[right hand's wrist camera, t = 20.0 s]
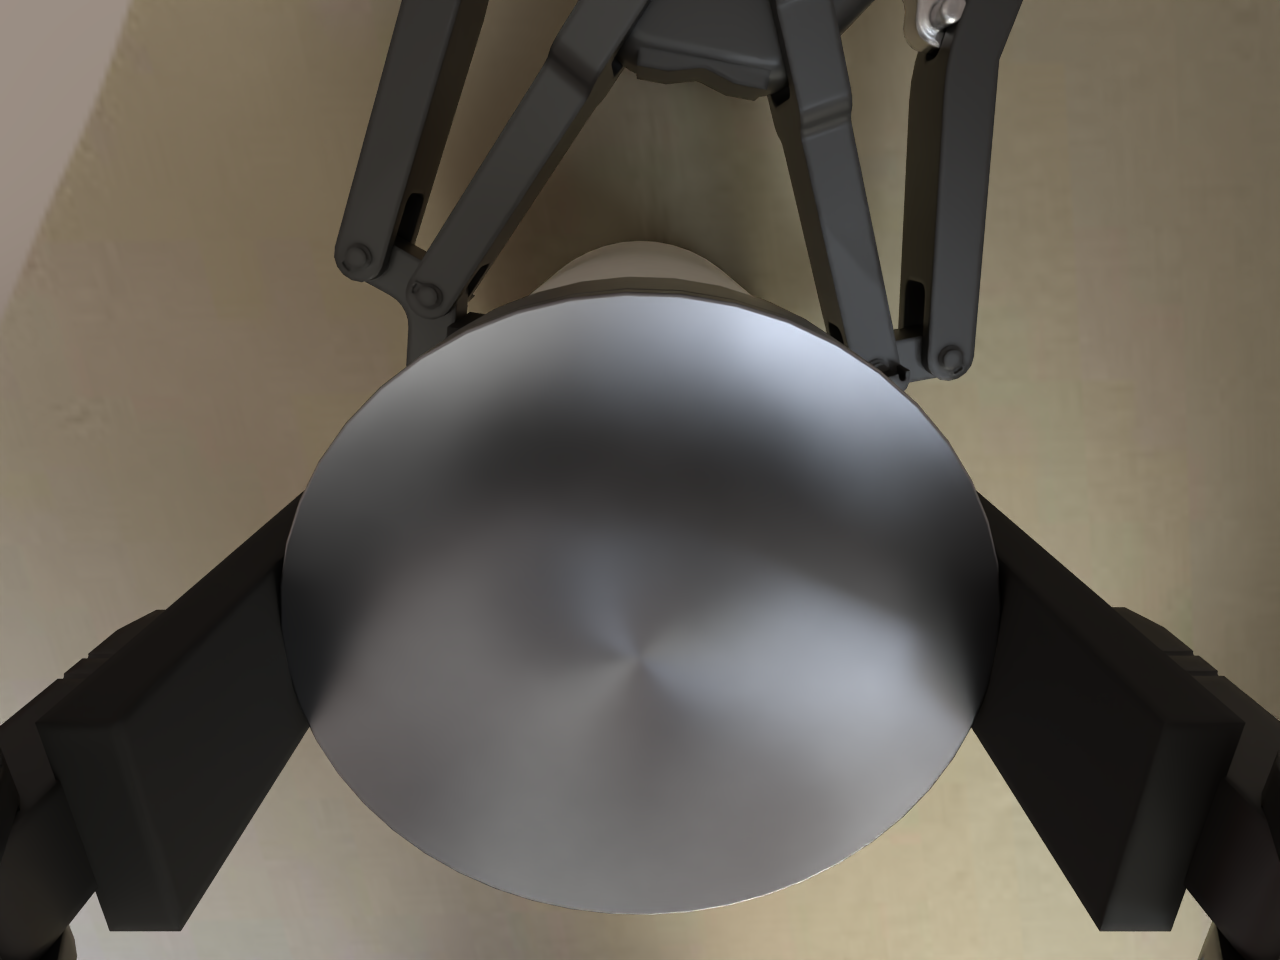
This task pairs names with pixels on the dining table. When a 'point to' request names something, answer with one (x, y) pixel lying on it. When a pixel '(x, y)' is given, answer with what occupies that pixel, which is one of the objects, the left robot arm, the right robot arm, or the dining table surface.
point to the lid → (640, 599)
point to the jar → (640, 265)
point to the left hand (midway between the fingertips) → (616, 558)
